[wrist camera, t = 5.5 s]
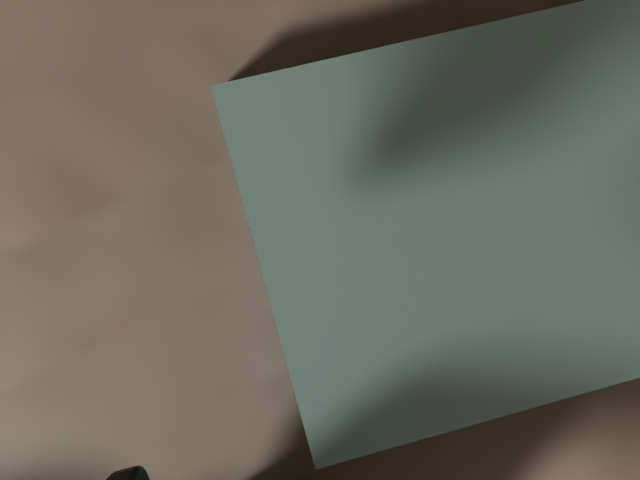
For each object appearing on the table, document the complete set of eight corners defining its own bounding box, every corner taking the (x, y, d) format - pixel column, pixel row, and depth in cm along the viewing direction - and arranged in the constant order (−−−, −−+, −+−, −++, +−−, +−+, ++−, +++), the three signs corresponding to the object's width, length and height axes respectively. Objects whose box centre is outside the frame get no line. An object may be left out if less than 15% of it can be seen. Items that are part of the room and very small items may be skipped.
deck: (830, 269, 20) (926, 296, 17) (305, 413, 19) (315, 469, 16) (856, -57, 17) (981, -91, 14) (218, 89, 15) (210, 85, 12)
